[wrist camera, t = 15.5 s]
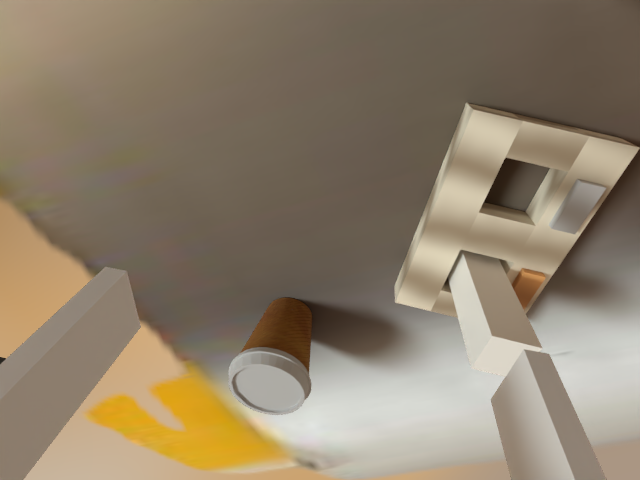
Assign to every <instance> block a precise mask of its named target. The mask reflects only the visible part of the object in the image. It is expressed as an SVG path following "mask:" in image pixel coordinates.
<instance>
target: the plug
mask: <svg viewBox="0 0 640 480" xmlns="http://www.w3.org/2000/svg"><path fill="white" fill-rule="evenodd" d="M448 281H449V284H450V288H451V292H452V296H453V300H454V304H455V308H456V312H457V316H458V319H459V323H460V327H461V331H462V335H463V339H464V343H465V347H466V350H467V354H468V358H469V362H470V366H471V368H472V369H476V370H480V371H484V372H488V373H492V374H496V375H500V376H504V377H506V376H507V374H508V373H509V371H510V369H511V368H512V366H513V365H514V363H515V362H516V360H517V359H518V357H519V356H520V354H521V353H522V351H523V350H524V349H526V350H531V351H536V352H540V351H541V350H542V346H541V344H540V342H539V340H538V338H537V336H536V334H535V332H534V330H533V328H532V326H531V324H530V322H529V320H528V318H527V316H526V314H525V312H524V310H523V308H522V305H521V303H520V301H519V299H518V297H517V295H516V293H515V291H514V289H513V287H512V285H511V283H510V281H509V279H508V277H507V275H506V273H505V271H504V269H503V267H502V265H501V263H500V261H499V259H498V258H494V257H490V256H486V255H482V254H477V253H473V252H469V251H465V250H460V252H459V254H458V256H457V258H456V260H455V262H454V264H453V266H452V268H451V270H450V272H449V275H448Z"/></svg>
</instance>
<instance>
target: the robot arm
mask: <svg viewBox="0 0 640 480" xmlns="http://www.w3.org/2000/svg"><path fill="white" fill-rule="evenodd" d="M140 327H141V326H140V322H139V318H138V314H137V310H136V306H135V302H134V298H133V294H132V290H131V286H130V282H129V278H128V274H127V271H124V270H119V269H114V268H109V267H105V268H104V269H103V270H102V271H101V272H99V273H98V274H97V275H96V276H95V277H94V278H93V279H92V280H91V281H90V282H89V283H88V284H87V285H85V286H84V287H83V288H82V289H81V290H80V291H79V292H78V293H77V294H76V295H75V296H74V297H72V298H71V299H70V300H69V301H68V302H67V303H66V304H65V305H64V306H63V307H62V308H61V309H60V310H58V311H57V312H56V313H55V314H54V315H53V316H52V317H51V318H50V319H49V320H48V321H47V322H45V323H44V324H43V325H42V326H41V327H40V328H39V329H38V330H37V331H36V332H35V333H34V334H33V335H32V336H30V337H29V338H28V339H27V340H26V341H25V342H24V343H23V344H22V345H21V346H20V347H18V348H17V349H16V350H15V351H14V352H13V353H12V354H11V355H10V356H9V357H8V358H7V359H6V358H2V357H0V480H23V479H24V478H25V477H26V475H27V474H28V473H29V471H30V470H31V469H32V467H33V466H34V465H35V464H36V462H37V461H38V460H39V459H40V457H41V456H42V454H43V453H44V452H45V451H46V449H47V448H48V447H49V445H50V444H51V443H52V442H53V440H54V439H55V438H56V436H57V435H58V434H59V432H60V431H61V430H62V429H63V427H64V426H65V425H66V423H67V422H68V421H69V420H70V418H71V417H72V416H73V414H74V413H75V412H76V410H77V409H78V408H79V407H80V405H81V404H82V403H83V401H84V400H85V399H86V397H87V396H88V395H89V394H90V392H91V391H92V389H93V388H94V387H95V386H96V384H97V383H98V382H99V381H100V379H101V378H102V377H103V375H104V374H105V373H106V371H107V370H108V369H109V368H110V366H111V365H112V364H113V362H114V361H115V360H116V358H117V357H118V356H119V354H120V353H121V352H122V351H123V349H124V348H125V347H126V346H127V344H128V343H129V341H130V340H131V339H132V338H133V336H134V335H135V334H136V333H137V331H138V330H139V329H140ZM491 403H492V407H493V411H494V415H495V419H496V422H497V426H498V430H499V434H500V438H501V442H502V446H503V450H504V453H505V457H506V461H507V465H508V469H509V473H510V477H511V480H607V479H606V477H605V475H604V473H603V471H602V469H601V466H600V464H599V462H598V460H597V458H596V456H595V453H594V451H593V449H592V447H591V444H590V442H589V440H588V438H587V436H586V434H585V431H584V429H583V427H582V425H581V423H580V420H579V418H578V416H577V414H576V412H575V410H574V407H573V405H572V403H571V401H570V399H569V396H568V394H567V392H566V390H565V388H564V386H563V383H562V381H561V379H560V377H559V375H558V372H557V370H556V368H555V366H554V364H553V362H552V359H551V357H550V355H549V354H546V353H541V352H536V351H531V350H526V349H524V350H523V351H522V353H521V354H520V356H519V357H518V359H517V360H516V362H515V363H514V365H513V366H512V368H511V369H510V371H509V373H508V374H507V376H506V377H505V379H504V380H503V382H502V383H501V385H500V386H499V388H498V389H497V391H496V392H495V394H494V395H493V397H492V398H491Z"/></svg>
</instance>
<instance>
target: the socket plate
mask: <svg viewBox="0 0 640 480" xmlns="http://www.w3.org/2000/svg"><path fill="white" fill-rule="evenodd" d="M639 149H640V147H638V146H636V145H633V144H631V143H629V142H627V141H625V140H623V139H621V138H618V137H614V136H610V135H605V134H601V133H597V132H592V131H588V130H583V129H579V128H575V127H570V126H566V125H562V124H557V123H553V122H549V121H544V120H540V119H535V118H531V117H527V116H522V115H518V114H514V113H509V112H505V111H500V110H496V109H492V108H487V107H483V106H479V105H474V104H470V103H466V105H465V108H464V110H463V113H462V115H461V118H460V120H459V123H458V126H457V128H456V131H455V133H454V136H453V138H452V141H451V143H450V146H449V149H448V151H447V154H446V156H445V159H444V161H443V164H442V166H441V169H440V172H439V174H438V177H437V179H436V182H435V184H434V187H433V189H432V192H431V195H430V197H429V200H428V202H427V205H426V207H425V210H424V212H423V215H422V218H421V220H420V223H419V225H418V228H417V230H416V233H415V235H414V238H413V241H412V243H411V246H410V248H409V251H408V253H407V256H406V258H405V261H404V264H403V266H402V269H401V271H400V274H399V276H398V279H397V281H396V284H395V302H396V303H400V304H404V305H408V306H412V307H416V308H420V309H424V310H428V311H432V312H437V313H441V314H445V315H449V316H453V317H457V318H458V316H457V312H456V308H455V304H454V300H453V296H452V292H451V288H450V284H449V281H448V275H449V272H450V270H451V268H452V266H453V264H454V262H455V260H456V258H457V256H458V254H459V252H460V250H465V251H469V252H473V253H477V254H482V255H486V256H490V257H494V258H498V259H499V261H500V263H501V265H502V267H503V269H504V271H505V273H506V275H507V277H508V279H509V281H510V283H511V285H512V287H513V289H514V291H515V293H516V295H517V297H518V299H519V301H520V303H521V305H522V308H523V310H524V312H525V314H526V313H527V312H528V310H529V309H530V307H531V306H532V304H533V303H534V302H535V300H536V299H537V297H538V296H539V294H540V293H541V291H542V290H543V288H544V287H545V286H546V284H547V283H548V281H549V280H550V278H551V277H552V275H553V274H554V272H555V271H556V269H557V268H558V267H559V265H560V264H561V262H562V261H563V259H564V258H565V256H566V255H567V253H568V252H569V251H570V249H571V248H572V246H573V245H574V243H575V242H576V240H577V239H578V237H579V236H580V235H581V233H582V232H583V230H584V229H585V227H586V226H587V224H588V223H589V221H590V220H591V219H592V217H593V216H594V214H595V213H596V211H597V210H598V208H599V207H600V205H601V204H602V203H603V201H604V200H605V198H606V197H607V195H608V194H609V192H610V191H611V189H612V188H613V186H614V185H615V184H616V182H617V181H618V179H619V178H620V176H621V175H622V173H623V172H624V170H625V169H626V168H627V166H628V165H629V163H630V162H631V160H632V159H633V157H634V156H635V154H636V153H637V152H638V150H639ZM505 157H506V158H510V159H515V160H519V161H523V162H528V163H532V164H536V165H540V166H545V167H549V168H550V169H549V171H548V173H547V175H546V177H545V178H544V180H543V182H542V184H541V185H540V187H539V189H538V191H537V192H536V194H535V196H534V198H533V200H532V201H531V203H530V205H529V207H528V208H527V210H526V212H523V211H519V210H515V209H511V208H506V207H502V206H498V205H494V204H489V203H485V202H484V200H485V198H486V196H487V194H488V192H489V190H490V188H491V186H492V184H493V182H494V180H495V178H496V176H497V174H498V172H499V170H500V168H501V165H502V163H503V161H504V159H505Z"/></svg>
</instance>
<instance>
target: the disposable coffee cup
mask: <svg viewBox="0 0 640 480" xmlns="http://www.w3.org/2000/svg"><path fill="white" fill-rule="evenodd" d="M311 328H312V313H311V311H310V309H309V308H308V307H307V306H306V305H305V304H304V303H302V302H301V301H299V300H296V299H293V298H280V299H277V300H274V301H273V302H272V303H271V304H270V305H269V307H268V308H267V310H266V312H265V313H264V315H263V317H262V318H261V320H260V322H259V323H258V325H257V326H256V328H255V330H254V331H253V333H252V335H251V336H250V338H249V340H248V341H247V343H246V345H245V346H244V348H243V350H242V351H241V353H240V354H239V355H238V356H237V357H235V358H234V360H233V361H232V362H231V364H230V366H229V371H228V374H229V388H230V390H231V392H232V394H233V395H234V397H235V398H236V399H237V400H238V401H239V402H241V403H242V404H243V405H245V406H246V407H248V408H250V409H252V410H255V411H258V412H261V413H265V414H272V415H283V414H288V413H291V412H294V411H296V410H297V409H299V408H300V407H301V406H302V404H303V402H304V400H305V399H306V398H307V397H308V396H309V394H310V391H311V380H310V377H309V362H310V346H311V330H312V329H311Z"/></svg>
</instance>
